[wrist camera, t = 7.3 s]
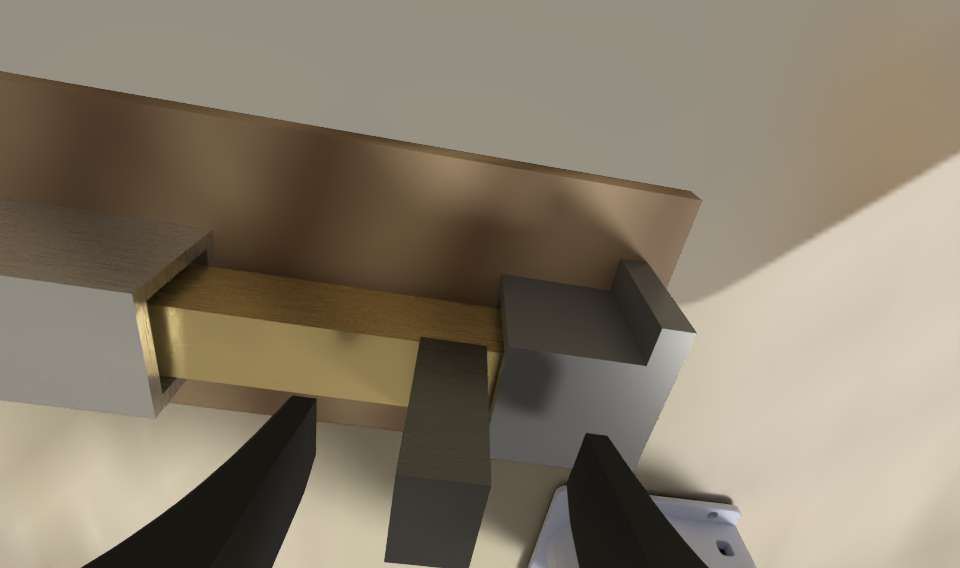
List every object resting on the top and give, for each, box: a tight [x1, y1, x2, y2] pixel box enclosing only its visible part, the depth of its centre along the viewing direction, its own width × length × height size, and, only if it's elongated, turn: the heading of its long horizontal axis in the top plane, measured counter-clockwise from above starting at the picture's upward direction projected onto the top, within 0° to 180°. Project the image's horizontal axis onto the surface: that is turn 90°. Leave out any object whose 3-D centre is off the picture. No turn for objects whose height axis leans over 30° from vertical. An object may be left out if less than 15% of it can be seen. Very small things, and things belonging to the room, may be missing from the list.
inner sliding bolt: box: [146, 263, 504, 568], centre depth 14 cm, size 16×3×8 cm, turn 80°
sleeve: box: [0, 197, 216, 419], centre depth 15 cm, size 9×4×4 cm, turn 80°
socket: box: [489, 259, 697, 472], centre depth 17 cm, size 5×7×4 cm
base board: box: [0, 71, 702, 432], centre depth 18 cm, size 26×12×1 cm, turn 80°
